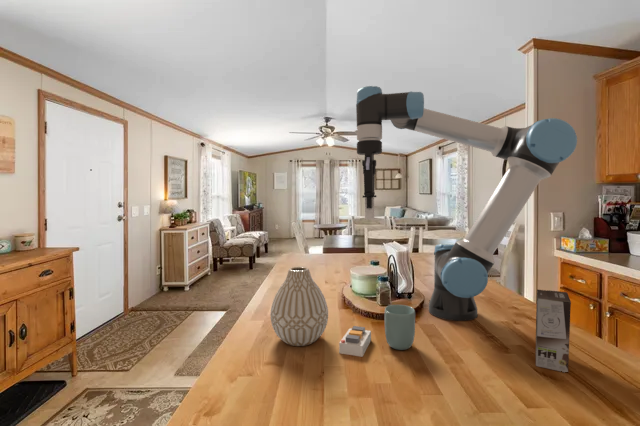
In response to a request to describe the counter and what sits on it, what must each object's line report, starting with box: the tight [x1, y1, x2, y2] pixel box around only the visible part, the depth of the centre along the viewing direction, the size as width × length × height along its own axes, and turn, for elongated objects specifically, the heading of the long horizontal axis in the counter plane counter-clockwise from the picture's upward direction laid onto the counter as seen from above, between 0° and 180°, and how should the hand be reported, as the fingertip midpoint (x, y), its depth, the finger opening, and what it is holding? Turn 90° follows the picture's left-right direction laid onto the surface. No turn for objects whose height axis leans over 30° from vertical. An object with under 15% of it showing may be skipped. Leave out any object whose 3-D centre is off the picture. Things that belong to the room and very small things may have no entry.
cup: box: [384, 304, 416, 351], centre depth 91 cm, size 8×8×10 cm
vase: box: [269, 266, 329, 347], centre depth 96 cm, size 16×16×20 cm
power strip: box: [338, 325, 372, 357], centre depth 91 cm, size 10×6×4 cm, turn 160°
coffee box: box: [535, 289, 572, 373], centre depth 82 cm, size 9×6×16 cm
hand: (369, 218), depth 106 cm, fingers closed
